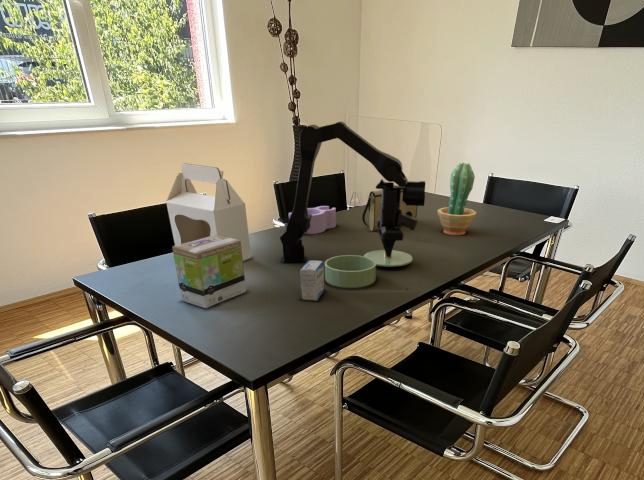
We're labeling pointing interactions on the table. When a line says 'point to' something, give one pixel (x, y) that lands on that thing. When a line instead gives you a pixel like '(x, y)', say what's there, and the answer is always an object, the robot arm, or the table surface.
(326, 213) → the purple piece
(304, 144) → the robot arm
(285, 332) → the table surface
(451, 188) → the potted cactus
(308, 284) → the medicine box
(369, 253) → the pot lid
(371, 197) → the clutch purse
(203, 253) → the tea box
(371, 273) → the pot
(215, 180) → the gable box
